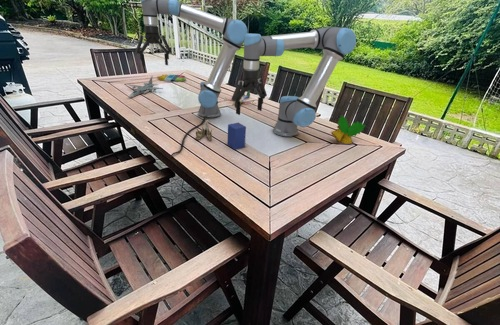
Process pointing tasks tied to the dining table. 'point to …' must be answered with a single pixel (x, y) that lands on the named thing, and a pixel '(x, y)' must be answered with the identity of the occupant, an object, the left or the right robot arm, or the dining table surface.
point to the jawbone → (204, 132)
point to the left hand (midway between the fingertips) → (155, 65)
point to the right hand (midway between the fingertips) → (249, 112)
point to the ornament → (347, 130)
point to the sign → (172, 78)
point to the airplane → (143, 88)
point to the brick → (236, 135)
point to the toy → (242, 99)
